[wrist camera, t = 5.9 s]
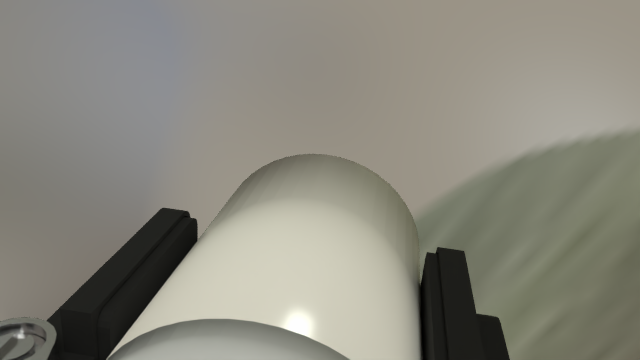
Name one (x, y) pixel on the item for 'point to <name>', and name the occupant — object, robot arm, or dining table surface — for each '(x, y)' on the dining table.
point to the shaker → (293, 274)
